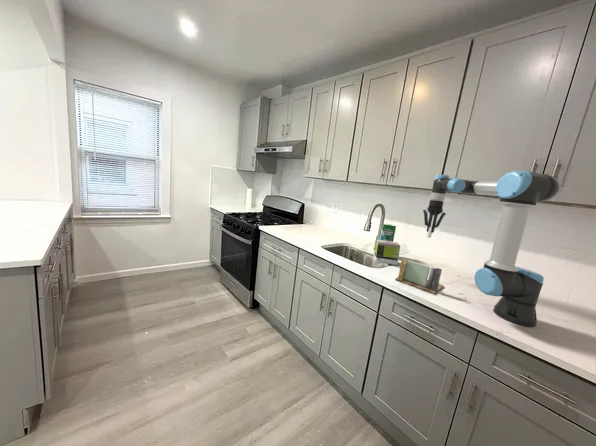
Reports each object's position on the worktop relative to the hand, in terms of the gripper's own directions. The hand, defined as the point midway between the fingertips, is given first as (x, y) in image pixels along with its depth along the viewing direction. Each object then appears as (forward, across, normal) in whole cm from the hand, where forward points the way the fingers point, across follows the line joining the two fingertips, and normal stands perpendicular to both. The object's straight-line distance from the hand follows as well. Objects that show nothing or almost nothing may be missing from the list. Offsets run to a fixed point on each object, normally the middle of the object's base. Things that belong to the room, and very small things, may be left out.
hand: (428, 237), depth 157 cm
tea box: (+25, +25, 0) cm, 35 cm away
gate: (+23, -5, +25) cm, 34 cm away
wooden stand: (+24, -5, +20) cm, 32 cm away
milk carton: (+25, +34, -16) cm, 44 cm away
